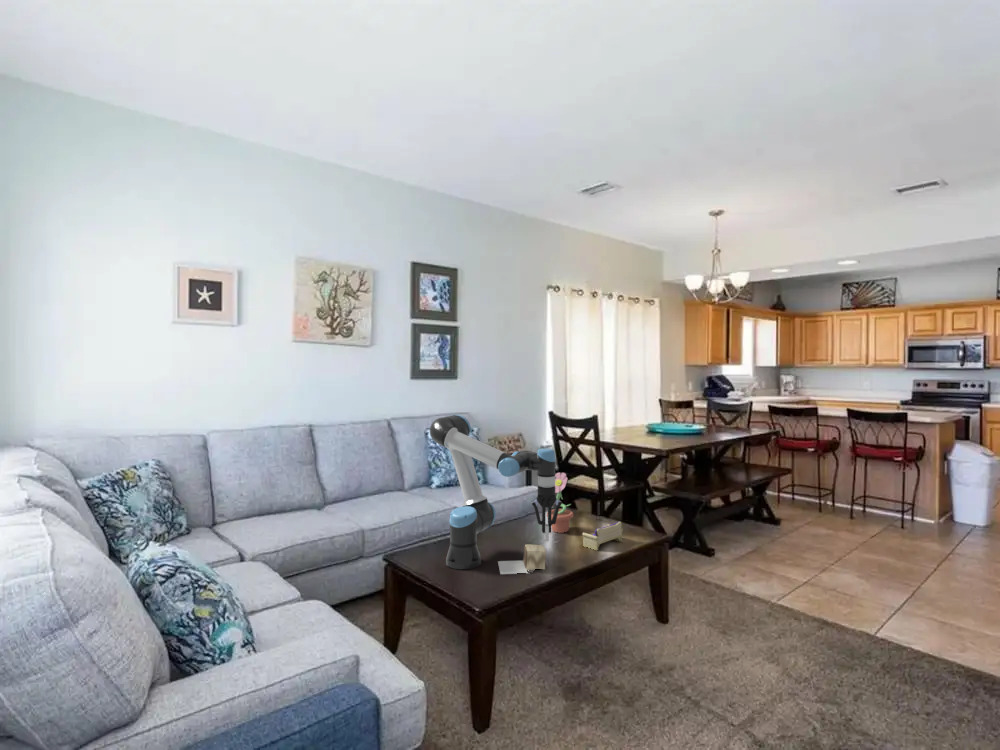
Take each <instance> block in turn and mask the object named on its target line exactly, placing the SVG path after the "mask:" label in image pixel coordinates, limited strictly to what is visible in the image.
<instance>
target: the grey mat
mask: <svg viewBox="0 0 1000 750" xmlns="http://www.w3.org/2000/svg"><path fill="white" fill-rule="evenodd" d="M523 560H524V559H522V560H500V561H498V560H497V563H498V564H497V565H498V568H499V569H498V570H499V574H500V575H518V574H517V573H526V574H529V573H528V572H527V570H526V568H525V565H524V562H523ZM528 571H529V570H528Z"/></svg>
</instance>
